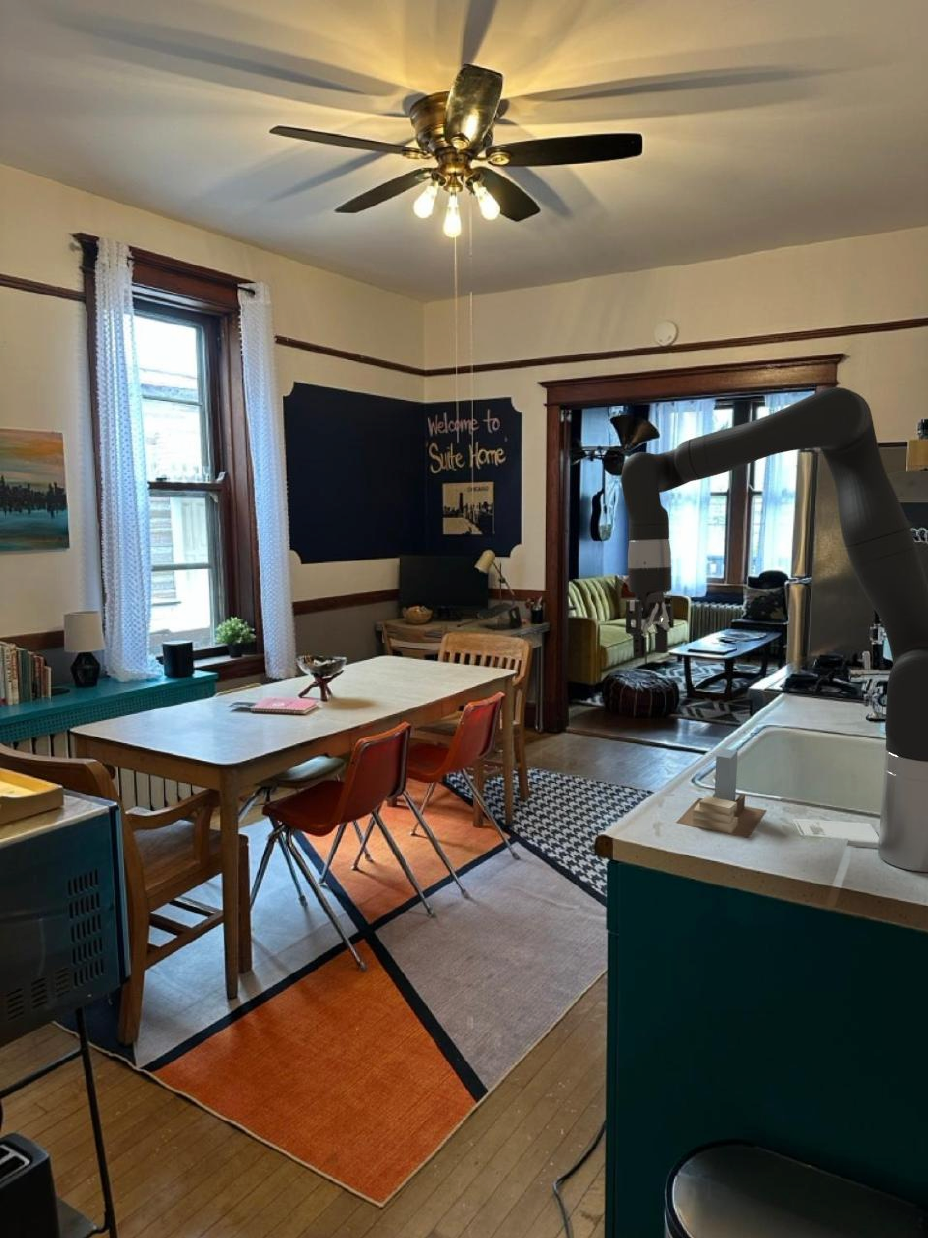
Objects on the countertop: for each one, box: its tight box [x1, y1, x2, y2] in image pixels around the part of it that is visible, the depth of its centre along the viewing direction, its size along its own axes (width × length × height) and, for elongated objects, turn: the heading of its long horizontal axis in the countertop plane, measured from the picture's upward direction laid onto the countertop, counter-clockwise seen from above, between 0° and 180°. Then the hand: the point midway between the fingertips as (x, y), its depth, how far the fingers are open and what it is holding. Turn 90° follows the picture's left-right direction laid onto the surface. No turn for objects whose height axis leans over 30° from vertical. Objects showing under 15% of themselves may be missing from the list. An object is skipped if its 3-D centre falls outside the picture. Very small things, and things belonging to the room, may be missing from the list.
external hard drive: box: [792, 818, 879, 849], centre depth 135 cm, size 2×8×12 cm
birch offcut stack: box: [693, 795, 738, 833], centre depth 136 cm, size 7×4×4 cm, turn 58°
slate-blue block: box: [714, 748, 739, 802], centre depth 141 cm, size 2×5×11 cm, turn 148°
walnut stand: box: [675, 793, 767, 839], centre depth 140 cm, size 12×14×4 cm
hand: (651, 655), depth 146 cm, fingers open, 8 cm apart
